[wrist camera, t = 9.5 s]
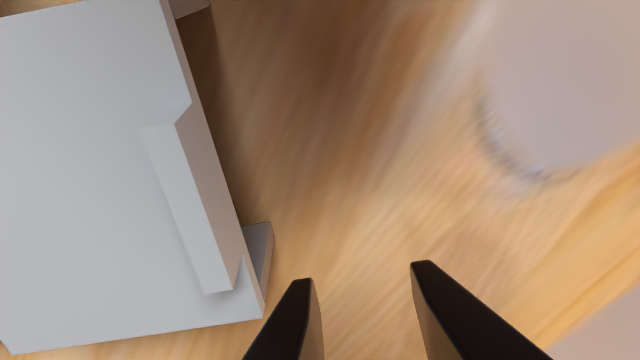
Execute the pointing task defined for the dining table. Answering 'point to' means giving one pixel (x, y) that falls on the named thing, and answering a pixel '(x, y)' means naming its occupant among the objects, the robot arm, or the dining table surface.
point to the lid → (110, 183)
